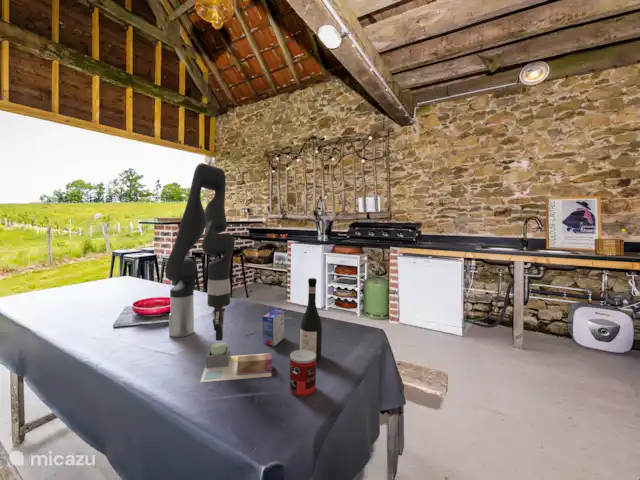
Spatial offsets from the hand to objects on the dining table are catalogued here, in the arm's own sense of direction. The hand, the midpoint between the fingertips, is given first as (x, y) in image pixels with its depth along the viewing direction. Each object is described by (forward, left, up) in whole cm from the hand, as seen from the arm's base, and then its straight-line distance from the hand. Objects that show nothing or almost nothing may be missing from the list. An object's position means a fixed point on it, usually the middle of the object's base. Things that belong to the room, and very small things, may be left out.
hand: (219, 339), depth 103 cm
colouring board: (+7, -4, -9) cm, 12 cm away
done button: (0, 0, -6) cm, 6 cm away
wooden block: (+12, -7, -8) cm, 16 cm away
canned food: (+27, -20, -9) cm, 35 cm away
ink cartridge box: (+20, +16, -9) cm, 27 cm away
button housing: (0, 0, -8) cm, 8 cm away
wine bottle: (+33, 0, -9) cm, 34 cm away
